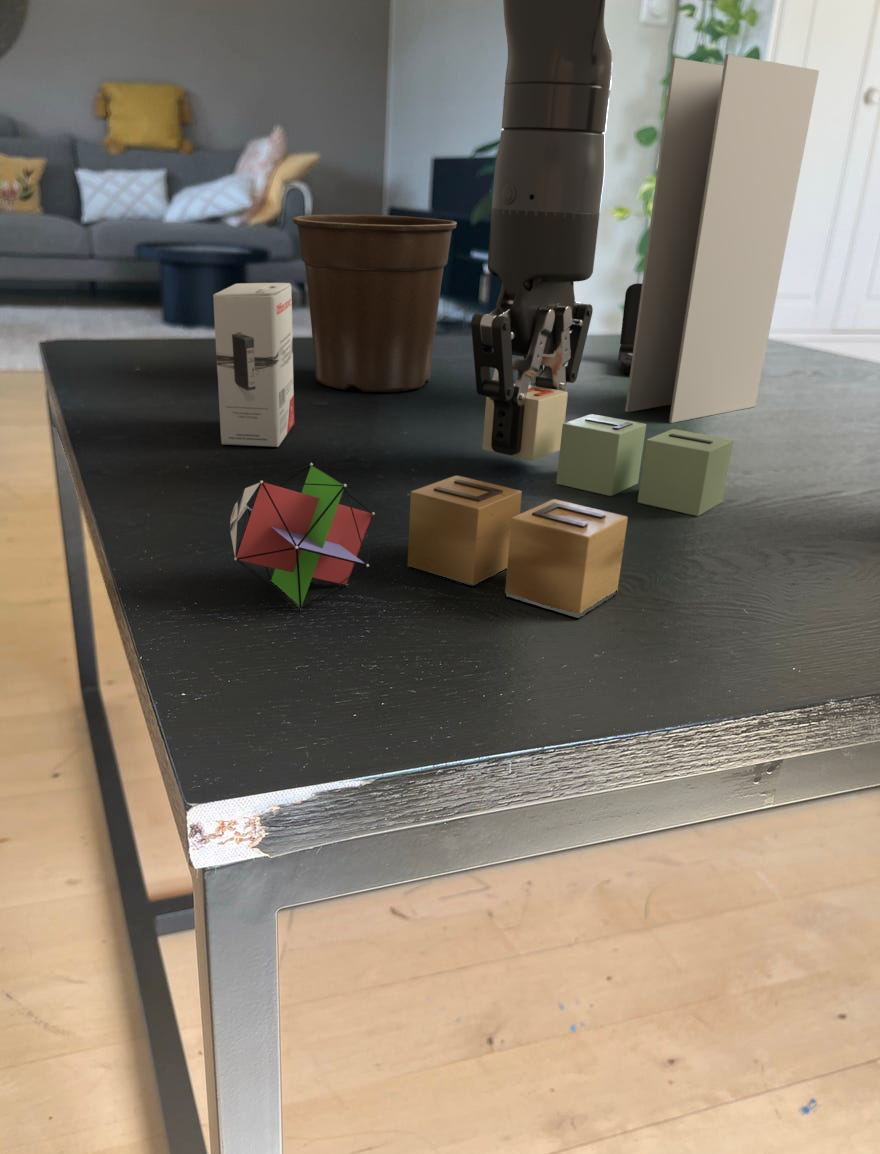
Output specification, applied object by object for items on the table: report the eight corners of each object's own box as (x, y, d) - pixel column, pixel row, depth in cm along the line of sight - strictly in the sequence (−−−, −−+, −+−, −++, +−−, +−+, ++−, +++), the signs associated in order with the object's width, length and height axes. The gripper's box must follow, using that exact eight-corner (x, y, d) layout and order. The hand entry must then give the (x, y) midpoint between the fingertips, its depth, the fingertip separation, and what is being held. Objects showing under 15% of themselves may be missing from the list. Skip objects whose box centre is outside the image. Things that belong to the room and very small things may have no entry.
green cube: (555, 484, 73) (562, 421, 71) (584, 471, 76) (591, 412, 74) (611, 496, 70) (619, 432, 68) (638, 483, 74) (647, 422, 72)
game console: (618, 376, 114) (629, 293, 110) (616, 357, 126) (626, 282, 122) (757, 385, 112) (773, 301, 108) (741, 365, 124) (755, 289, 120)
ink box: (239, 421, 87) (235, 279, 82) (295, 424, 87) (294, 282, 82) (217, 445, 79) (211, 290, 74) (279, 448, 79) (276, 293, 74)
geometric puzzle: (367, 522, 57) (287, 417, 52) (426, 561, 51) (343, 448, 46) (275, 607, 56) (185, 509, 51) (325, 656, 50) (230, 552, 46)
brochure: (709, 396, 105) (764, 73, 92) (755, 406, 101) (819, 70, 88) (625, 411, 97) (672, 58, 84) (671, 422, 93) (728, 54, 80)
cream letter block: (481, 449, 76) (486, 389, 74) (512, 439, 79) (517, 381, 77) (532, 461, 73) (538, 398, 71) (561, 450, 77) (568, 390, 75)
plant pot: (349, 404, 95) (352, 222, 88) (266, 375, 106) (263, 212, 99) (478, 389, 104) (490, 223, 97) (389, 364, 115) (394, 214, 108)
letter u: (503, 597, 53) (511, 514, 51) (545, 574, 56) (553, 496, 54) (578, 620, 50) (589, 534, 49) (617, 595, 54) (629, 514, 52)
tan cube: (406, 567, 56) (410, 489, 54) (451, 547, 60) (456, 472, 58) (472, 587, 54) (478, 506, 52) (515, 565, 57) (522, 488, 55)
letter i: (637, 502, 69) (646, 437, 67) (663, 489, 73) (673, 426, 71) (698, 516, 67) (709, 449, 65) (722, 502, 70) (734, 438, 68)
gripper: (541, 208, 61) (516, 475, 69) (639, 208, 72) (608, 439, 79) (443, 202, 65) (429, 454, 73) (549, 202, 76) (528, 423, 83)
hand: (523, 445), depth 76 cm, fingers closed on cream letter block, 4 cm apart
